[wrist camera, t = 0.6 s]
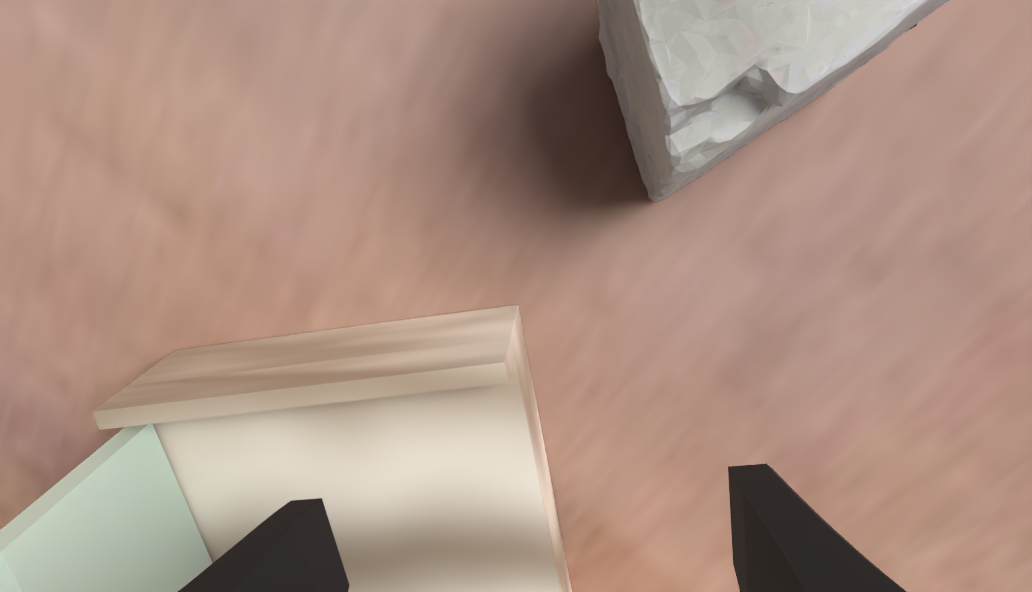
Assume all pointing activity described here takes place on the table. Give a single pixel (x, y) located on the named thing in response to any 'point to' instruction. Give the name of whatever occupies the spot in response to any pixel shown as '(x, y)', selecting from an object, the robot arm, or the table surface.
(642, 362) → the table surface
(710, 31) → the mineral specimen
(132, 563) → the panel
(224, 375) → the cart bed
